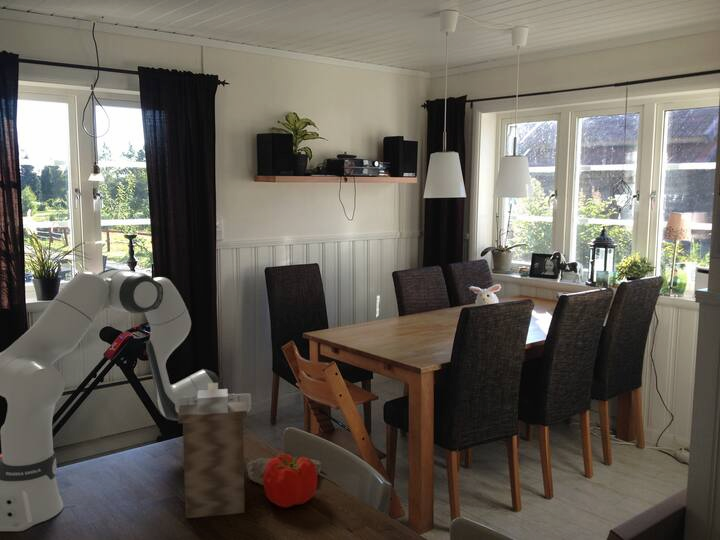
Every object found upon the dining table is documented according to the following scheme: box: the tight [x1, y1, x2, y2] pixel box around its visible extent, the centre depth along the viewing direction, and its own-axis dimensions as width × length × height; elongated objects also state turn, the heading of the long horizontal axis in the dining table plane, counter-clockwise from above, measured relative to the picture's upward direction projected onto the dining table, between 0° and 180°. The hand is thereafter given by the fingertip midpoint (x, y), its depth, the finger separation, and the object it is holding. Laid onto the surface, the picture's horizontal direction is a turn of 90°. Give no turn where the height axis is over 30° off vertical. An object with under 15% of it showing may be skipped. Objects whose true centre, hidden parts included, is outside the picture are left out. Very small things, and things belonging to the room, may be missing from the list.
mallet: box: [197, 383, 229, 415], centre depth 163 cm, size 7×16×4 cm, turn 12°
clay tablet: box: [246, 457, 323, 486], centre depth 181 cm, size 14×5×20 cm
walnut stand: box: [177, 401, 248, 519], centre depth 161 cm, size 16×7×26 cm, turn 102°
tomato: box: [262, 453, 319, 508], centre depth 167 cm, size 13×14×12 cm
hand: (213, 397), depth 174 cm, fingers open, 8 cm apart
